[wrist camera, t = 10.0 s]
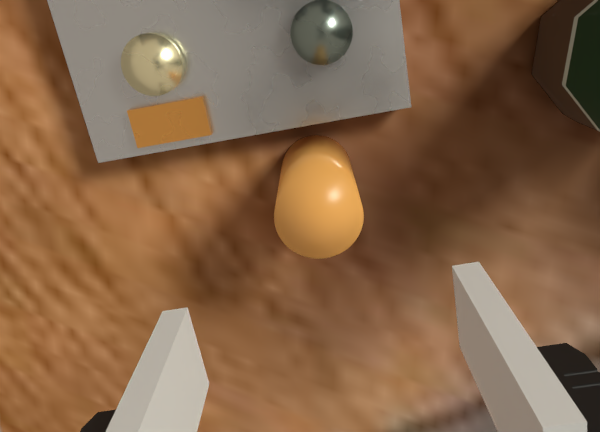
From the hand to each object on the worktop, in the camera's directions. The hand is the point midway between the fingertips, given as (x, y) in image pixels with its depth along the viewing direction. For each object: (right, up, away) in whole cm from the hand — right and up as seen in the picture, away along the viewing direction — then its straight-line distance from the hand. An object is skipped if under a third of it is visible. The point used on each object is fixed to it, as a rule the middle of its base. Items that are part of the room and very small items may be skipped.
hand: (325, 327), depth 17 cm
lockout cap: (0, +6, +16) cm, 17 cm away
